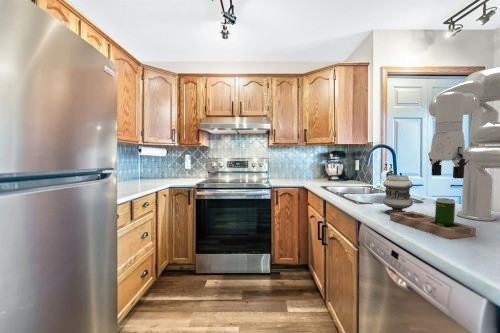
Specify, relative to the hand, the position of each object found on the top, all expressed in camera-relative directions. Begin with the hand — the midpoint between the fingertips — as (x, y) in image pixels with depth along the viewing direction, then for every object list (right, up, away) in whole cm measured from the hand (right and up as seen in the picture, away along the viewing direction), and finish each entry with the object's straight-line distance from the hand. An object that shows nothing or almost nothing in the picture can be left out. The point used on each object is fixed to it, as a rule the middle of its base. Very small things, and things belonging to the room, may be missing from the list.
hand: (446, 176), depth 86 cm
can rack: (-2, -20, +7) cm, 21 cm away
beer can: (0, -20, +1) cm, 20 cm away
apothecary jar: (-1, -19, +28) cm, 34 cm away
